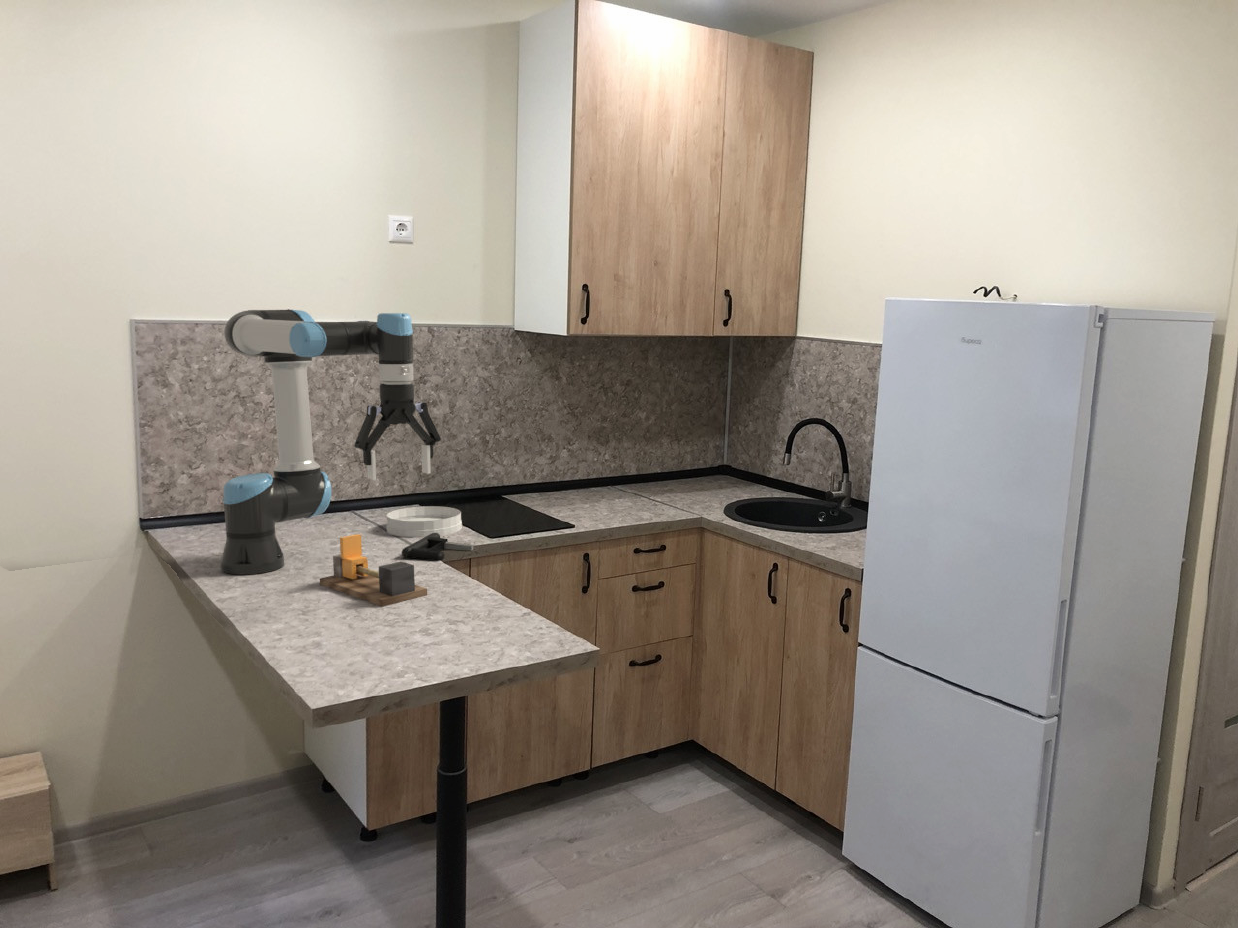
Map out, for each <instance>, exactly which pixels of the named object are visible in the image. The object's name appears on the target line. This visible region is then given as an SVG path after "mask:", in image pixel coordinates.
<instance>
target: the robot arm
mask: <svg viewBox="0 0 1238 928" xmlns="http://www.w3.org/2000/svg"><path fill="white" fill-rule="evenodd" d="M412 325H413V324H412V316H411V315H410V314H409V313H405V312H404V313H401V312H400V313H399V312H383V313H382V312H380V313H378V315H377V316H376V321H371V320H357V321H315V318H313V317H312V315H311V314H310V313H308V312H307V311H304V310H299V309H248V310H243V311H239V312H237V313H235V314H234V315H233V316H231V317H230V318H229V319H228V321H227V322H226V323H225V327H224V333H223V334H224V340H225V342H226V343H227V346H229V348H230V350H233V351H234V352H236V353H237V354H239V355H242V356H246V357H261V358H262V357H264V365H266V366H267V367H268V368H269V369H270V370H271V379H272V390H273V391H272V392H273V401H274V402H273V403H274V413H275V415H274V416H275V426H276V438H277V441H276V442H277V452H278V463H277V464H276V466H274V468H273V476H272V475H271V473H268V472H257V473H249V474H243V475H239V476H236V477H233V478H232V479H230V480H228V481H227V482H226V483H225V484H224V486H223V497H222V502H223V507H224V508H223V510H224V520H225V521H224V525H225V532H226V533H225V537H226V540H225V544H224V547H223V552H222V556H221V558H220V570H222V571H223V572H222V571H221V572H222V573H224V572H225V574H228V573H229V574H228V575H240V576H241V575H256V574H263V573H269V572H272V571H276V570H279V569H281V568H283V567H284V566H285V556H284V553H283V551H282V548H281V546H280V544H279V541H278V539H277V535H276V524H277V523H282V522H289V521H294V520H300V519H310V518H312V517H316V516H317V517H318V516H320V515H322V514H323V513H325V511H327V508H328V507H329V506H330V504H331V503H330V502H331V498H332V483H331V481H330V478H329V476H328V475H327V473H325V472H324V471H322V469H321V465H320V463H319V464H318V462H317V461H315V459H314V447H313V435H312V434H313V433H312V422H311V419H312V418H311V409H310V394H309V385H308V384H309V383H308V367H309V366H310V365H311V364H312V363H313V358H317V357H330V356H331V357H333V356H334V357H335V356H362V355H363V356H365V355H368V356H369V355H371V356H372V355H375V356H377V355H378V378H379V381H380V382H381V383H380V384H379V400H380V404H379V406H375V405H367V406H366V415H365V418H364V419H363V420H364V421H363V423H362V424H361V425H362V426H360V427H361V428H360V430H359V432H358V435H357V438H356V440H355V442H354V447H355V448H357V449H359V450H362V454H363V455H362V456H363V464H364V465H365V466H366V467H367V468H366V470H367V479H368V480H371V481H377V460H376V451H375V450H373V448H374V447H375V445H376V444H377V443H378V441H379V440H380V439H381V437H382V436H383V434H384V432H385V431H386V430H387V428H389V427H390V426H391V425H393V426H396V425H399V424H400V425H401V424H402V425H409V426H410V427H411V429H412V430H413V431H414V432H415V433H416V434H417V436H418V437H419V438H420V439H421V441H423V443H422V444H420V447H421V472H422V473H423V474H427V475H428V474H432V473H431V471H432V469H431V467H432V466H431V459H433V458H434V446H435V445H436V443H437V442H441V436H440V434H439V432H438V429H437V428H436V425H435V423H434V421H433V420H432V417H431V416H430V413H429V409H428V404H427V403H426V402H422V401H418V402H417V403H415V401H414V399H415V385H414V384H413V383H412V382H413V381H414V350H413V349H414V343H413V342H414V339H413V338H414V337H413V335H414V333H413V332H414V330H413V327H412ZM415 412H417V413H418V416H419V417H420V419H421V421H422V423H423V425H424V427H425V429H426V430H425V429H424V427H422V426H421V424H420V423H419V422H418V419H417V418H416V417H415V416H414V413H415ZM379 413H380V415H381V417H380V418H379V420H378V422H377V424H376V426H375V428H374V429H373V426H374V423H375V422H376V419H377V416H379Z"/></svg>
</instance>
